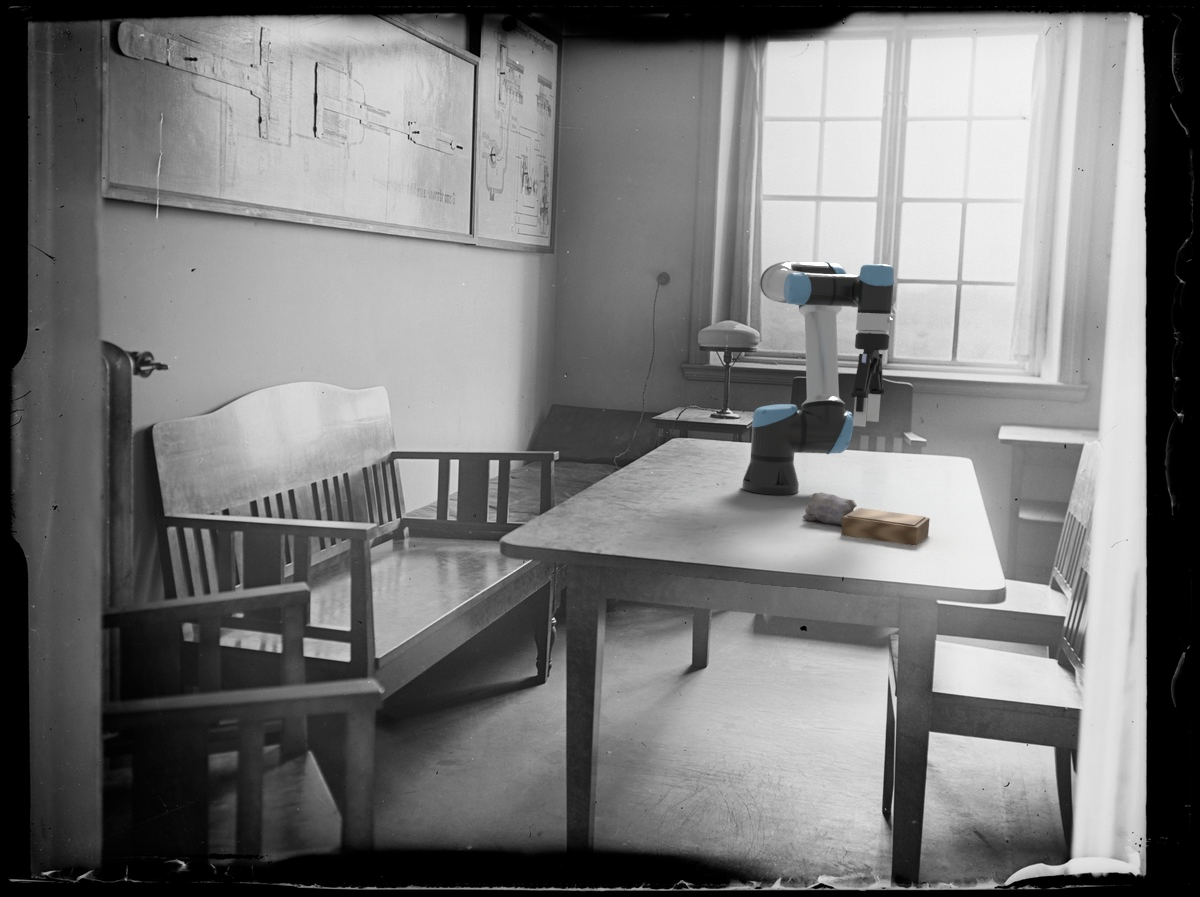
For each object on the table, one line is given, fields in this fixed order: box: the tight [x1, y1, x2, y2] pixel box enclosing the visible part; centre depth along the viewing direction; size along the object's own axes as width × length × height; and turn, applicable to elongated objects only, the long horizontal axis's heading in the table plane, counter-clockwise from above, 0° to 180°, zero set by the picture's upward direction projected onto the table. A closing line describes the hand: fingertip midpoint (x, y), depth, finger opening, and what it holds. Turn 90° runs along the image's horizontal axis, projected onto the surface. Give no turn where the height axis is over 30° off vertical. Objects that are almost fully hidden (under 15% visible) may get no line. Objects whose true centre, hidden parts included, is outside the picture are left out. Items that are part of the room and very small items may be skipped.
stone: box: [802, 492, 858, 526], centre depth 223 cm, size 8×12×7 cm, turn 56°
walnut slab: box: [841, 507, 931, 547], centre depth 212 cm, size 16×12×4 cm
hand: (866, 423), depth 225 cm, fingers open, 13 cm apart
